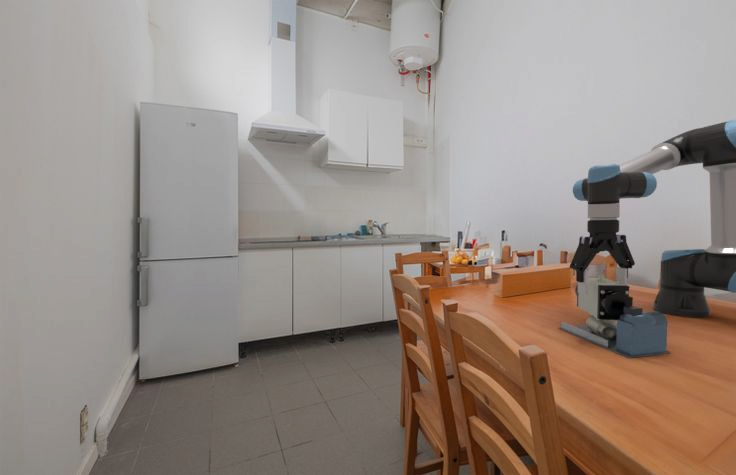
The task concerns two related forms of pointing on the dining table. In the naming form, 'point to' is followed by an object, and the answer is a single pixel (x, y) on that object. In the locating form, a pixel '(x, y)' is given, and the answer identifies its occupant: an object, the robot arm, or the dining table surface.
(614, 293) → the ball valve
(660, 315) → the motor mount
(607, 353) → the dining table surface
